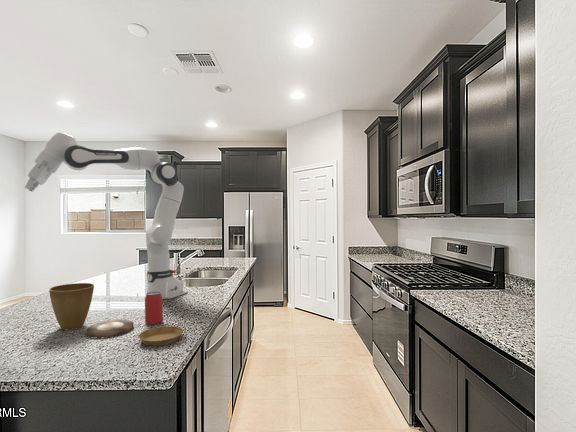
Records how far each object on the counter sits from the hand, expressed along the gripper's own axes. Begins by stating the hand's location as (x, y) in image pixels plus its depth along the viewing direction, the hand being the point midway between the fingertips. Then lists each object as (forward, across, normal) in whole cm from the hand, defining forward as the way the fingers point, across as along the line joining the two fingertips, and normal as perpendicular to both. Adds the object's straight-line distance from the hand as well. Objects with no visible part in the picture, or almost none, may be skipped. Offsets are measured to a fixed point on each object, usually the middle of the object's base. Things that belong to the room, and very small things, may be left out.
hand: (28, 189), depth 147 cm
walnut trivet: (+35, -39, -53) cm, 75 cm away
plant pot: (+41, -26, -42) cm, 65 cm away
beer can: (+28, -38, -67) cm, 82 cm away
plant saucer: (+29, -60, -67) cm, 94 cm away
